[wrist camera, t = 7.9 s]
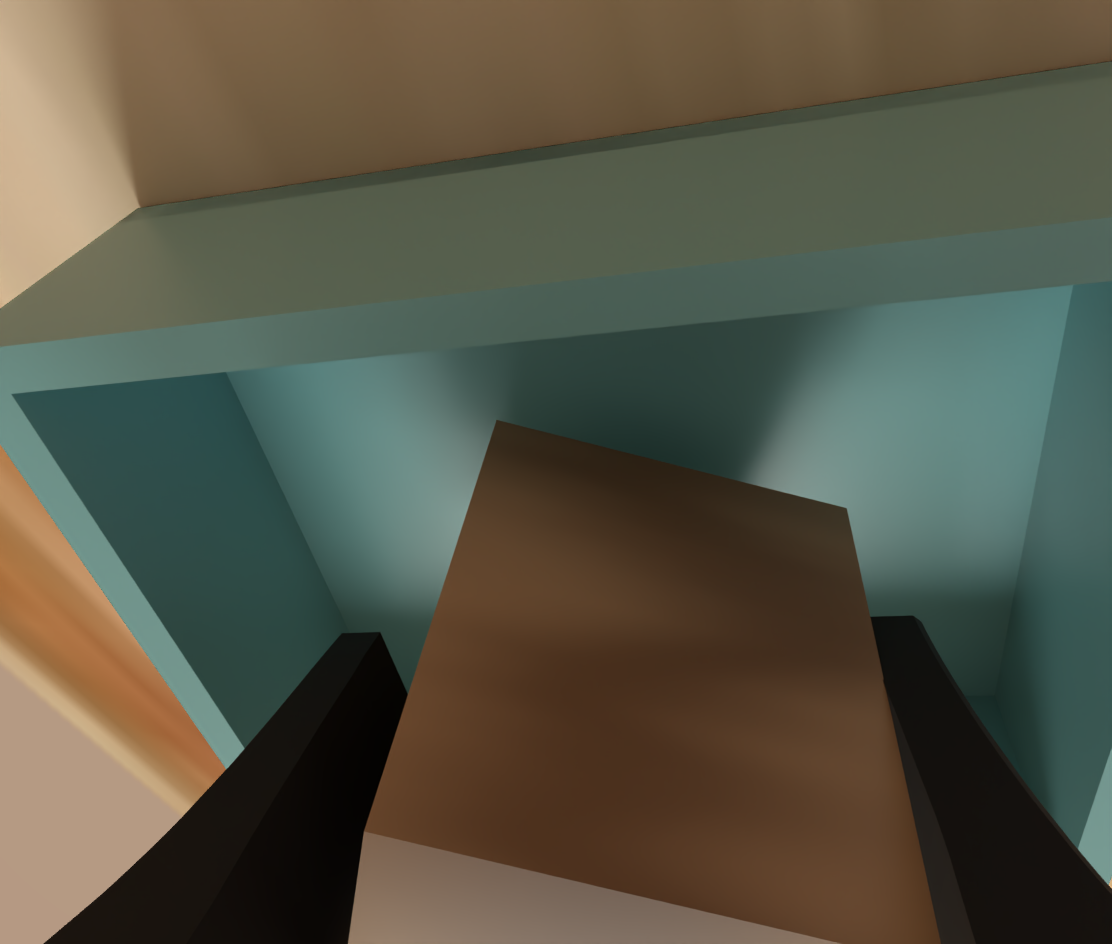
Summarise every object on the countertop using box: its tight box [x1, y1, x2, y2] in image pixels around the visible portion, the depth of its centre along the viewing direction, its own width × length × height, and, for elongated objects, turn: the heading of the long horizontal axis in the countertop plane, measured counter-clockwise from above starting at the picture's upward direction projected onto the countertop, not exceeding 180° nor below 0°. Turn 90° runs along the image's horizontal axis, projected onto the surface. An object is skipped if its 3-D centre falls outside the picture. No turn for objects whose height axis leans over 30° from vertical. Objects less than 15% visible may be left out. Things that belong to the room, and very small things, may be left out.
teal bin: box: [0, 61, 1112, 885], centre depth 14 cm, size 14×12×4 cm
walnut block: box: [348, 420, 941, 944], centre depth 11 cm, size 5×5×6 cm
